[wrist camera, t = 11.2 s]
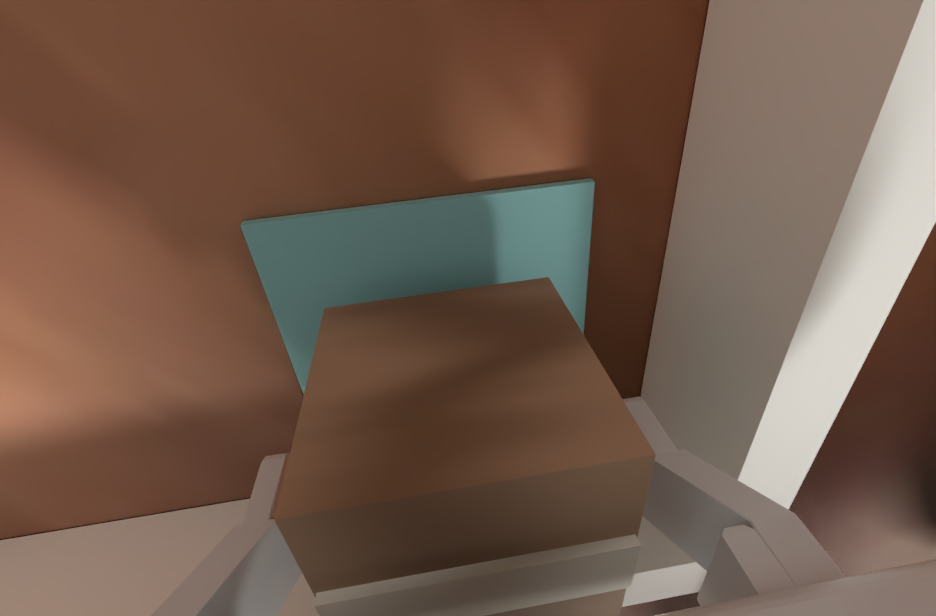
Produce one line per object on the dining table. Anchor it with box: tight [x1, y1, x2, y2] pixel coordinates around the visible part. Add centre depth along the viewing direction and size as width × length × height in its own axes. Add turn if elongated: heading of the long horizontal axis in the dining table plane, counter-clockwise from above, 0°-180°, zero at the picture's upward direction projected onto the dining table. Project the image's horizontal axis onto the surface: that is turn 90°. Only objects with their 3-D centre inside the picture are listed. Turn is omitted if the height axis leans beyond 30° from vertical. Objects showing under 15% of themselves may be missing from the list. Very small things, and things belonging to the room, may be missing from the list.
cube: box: [274, 277, 656, 616], centre depth 10 cm, size 6×6×6 cm
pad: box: [240, 178, 595, 395], centre depth 14 cm, size 9×9×1 cm
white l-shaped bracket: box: [0, 0, 936, 616], centre depth 10 cm, size 22×26×5 cm
